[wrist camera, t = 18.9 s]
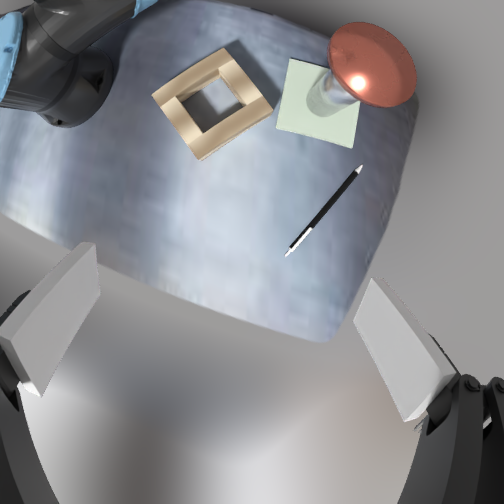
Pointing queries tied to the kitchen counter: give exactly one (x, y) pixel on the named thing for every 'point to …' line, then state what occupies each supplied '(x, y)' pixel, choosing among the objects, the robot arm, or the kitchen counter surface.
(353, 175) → the pen
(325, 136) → the sage pad
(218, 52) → the block
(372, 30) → the steel peg
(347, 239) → the kitchen counter surface
